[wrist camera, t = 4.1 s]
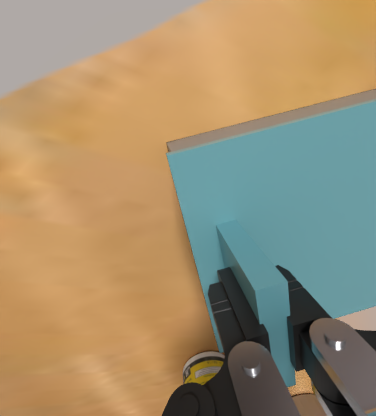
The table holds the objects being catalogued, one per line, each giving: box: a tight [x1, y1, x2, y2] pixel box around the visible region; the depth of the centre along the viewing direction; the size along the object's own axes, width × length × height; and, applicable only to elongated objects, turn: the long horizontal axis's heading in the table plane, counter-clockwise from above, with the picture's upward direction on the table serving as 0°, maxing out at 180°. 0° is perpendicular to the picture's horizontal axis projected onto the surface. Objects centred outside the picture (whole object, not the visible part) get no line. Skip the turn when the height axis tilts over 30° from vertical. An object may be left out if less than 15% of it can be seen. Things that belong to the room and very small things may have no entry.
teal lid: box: [166, 99, 376, 387], centre depth 11 cm, size 16×12×6 cm
